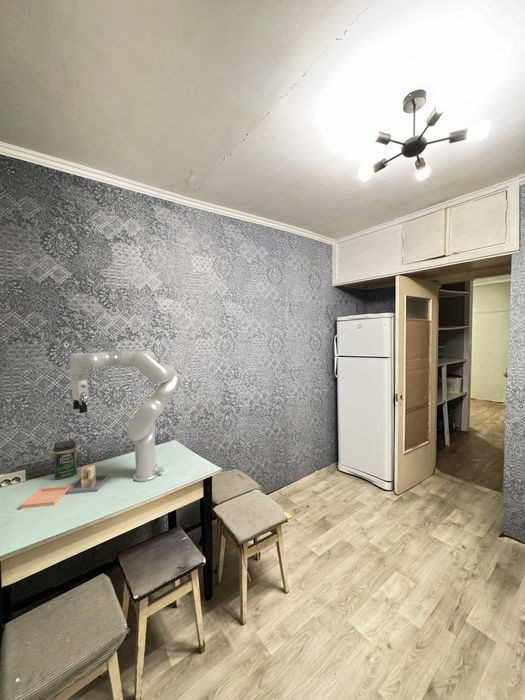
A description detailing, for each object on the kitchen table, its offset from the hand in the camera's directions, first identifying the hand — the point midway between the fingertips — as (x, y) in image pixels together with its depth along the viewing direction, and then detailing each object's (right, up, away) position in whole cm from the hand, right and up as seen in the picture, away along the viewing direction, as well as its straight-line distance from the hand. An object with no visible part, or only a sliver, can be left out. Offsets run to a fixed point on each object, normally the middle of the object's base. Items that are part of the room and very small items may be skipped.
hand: (80, 410), depth 140 cm
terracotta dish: (-4, -36, -16) cm, 40 cm away
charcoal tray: (+8, -36, -6) cm, 37 cm away
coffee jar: (-10, -36, +5) cm, 37 cm away
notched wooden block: (+8, -35, -6) cm, 36 cm away
